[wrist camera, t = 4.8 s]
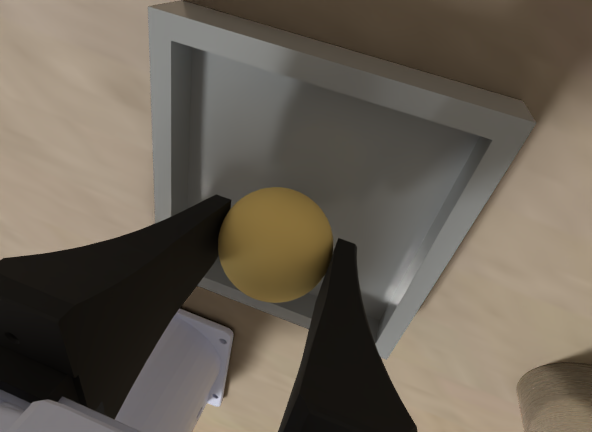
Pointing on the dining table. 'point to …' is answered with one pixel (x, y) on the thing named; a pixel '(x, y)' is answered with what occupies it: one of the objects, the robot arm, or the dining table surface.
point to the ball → (275, 244)
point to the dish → (326, 149)
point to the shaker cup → (556, 398)
